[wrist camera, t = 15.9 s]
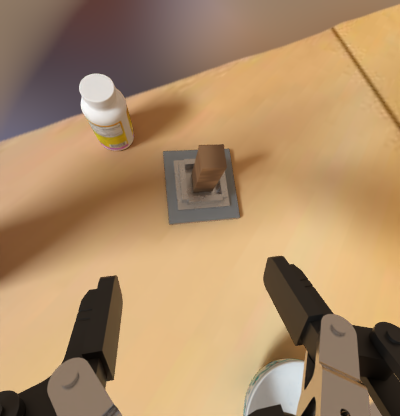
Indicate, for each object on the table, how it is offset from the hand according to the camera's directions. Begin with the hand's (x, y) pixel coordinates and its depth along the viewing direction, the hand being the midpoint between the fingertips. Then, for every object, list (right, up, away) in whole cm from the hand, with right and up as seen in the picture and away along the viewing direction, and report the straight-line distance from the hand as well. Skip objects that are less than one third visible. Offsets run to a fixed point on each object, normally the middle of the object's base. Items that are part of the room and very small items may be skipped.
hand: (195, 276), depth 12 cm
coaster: (0, +8, +32) cm, 33 cm away
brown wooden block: (+1, +8, +30) cm, 31 cm away
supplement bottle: (-16, +17, +32) cm, 40 cm away
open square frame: (0, +8, +31) cm, 32 cm away
